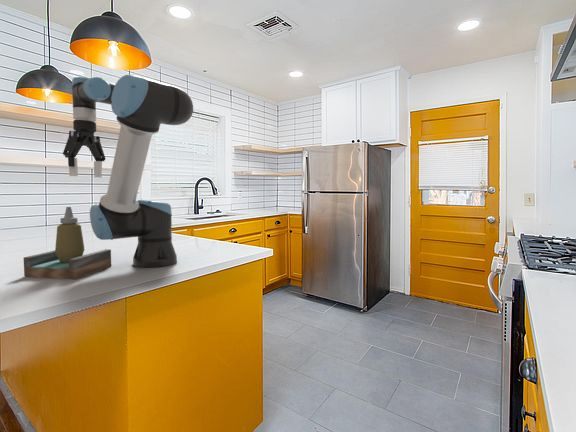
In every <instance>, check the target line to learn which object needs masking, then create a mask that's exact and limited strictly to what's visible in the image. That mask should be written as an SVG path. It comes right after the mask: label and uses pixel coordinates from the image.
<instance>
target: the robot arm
mask: <svg viewBox="0 0 576 432" xmlns="http://www.w3.org/2000/svg"><path fill="white" fill-rule="evenodd" d="M71 97H72V117H73V119H74V120H73V121H72V123H73V125H72V126H73V130H69V131H68V138H67V141H66V144H65V146H64V149H63V151H62V155H63V156H64V157H65V158H66V159H67V165H68V174H69V177H78V175H79V174H78V173H79V170H78V158H77V155H79V152H80V150H81V148H82V147H83V146H85V147H87V148H88V149H89V151H90V154H91V155H92V156H93V159H94V161H93V174H94V175H93V177H94V178H102V177H103V175H102V174H103V173H102V171H103V170H102V169H103V168H102V167H103V162H105V161H106V156H105V153H104V150H103V147H102V143H101V137H100V136H98V135H96V136H95V133H97V123H96V122H97V108H96V103H101V104H105V105H106V104H107V105H111V110H112V112H113V114H114V115H115V116H116V121H117V122H118V124H119V125H120V129H119V133H118V138H117V139H118V140H117V143H116V149H115V153H114V158H113V163H112V166H111V173H110V176H109V177H110V178H109V182H108V187H107V190H106V191H107V192H106V194H103V195H102V196H100V198H99V204H97V203H96V204H93V205H92V206H90V209H89V219H90V220H89V221H90V226H91V228H92V229H91V230H92V232H93V234H94V235H95V237H96V238H97V239H98V240H103V241H105V240H111V241H114V240H118V239H119V240H120V239H128V238H137V245H136V249H135V251H134V254H133V258H132V265H133V266H135V267H139V268H159V267H166V266H171V265H174V264H176V263H178V257H177V253H176V250H175V247H174V245H173V241H172V240H173V239H172V238H173V236H172V235H173V234H172V232H173V231H172V227H173V226H172V225H173V224H172V217H173V214H172V206H171V204H169V203H168V202H163V201H153V200H145V199H144V200H143V199H138V200H137V196H138V192H139V188H140V184H141V180H142V176H143V172H144V168H145V164H146V160H147V156H148V153H149V149H150V144H151V140H152V136H153V135H155V134H157V133H158V132H159V130H160V127H161V125H168V126H180V125H183V124H185V123H187V122H188V121H190V119H191V117H192V116H193V114H194V103H193V100H192V98H191V97H190V95H189V94H188V93H187V92H186V91H185V90H184V89H181V88H180V87H178V86H175V85H172V84H167V83H164V82H160V81H157V80H153V79H150V78H147V77H144V76H138V75H133V74H125V75H122V76H121V77H120V78H119V79H118V80H116V83H115V84H114V83H110V82H108V81H107V80H106V79H104V78H102V77H98V76H96V77H94V76H93V77H90V78H88V77H84V76H78V77H77V76H76V77H73V78H72V82H71Z"/></svg>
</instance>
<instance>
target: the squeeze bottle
mask: <svg viewBox="0 0 576 432" xmlns="http://www.w3.org/2000/svg"><path fill="white" fill-rule="evenodd" d="M59 220H60V224H58V225H57V227H56V238H55V250H54V251H55V252H56V254H57V257H58V259H59V261H60V262H63V263H69V259H72V258H76V257H79V256H83V255H84V252H85V244H84V243H85V242H84V237H83V229H82V225H80V224H78V221H79V220H78V217H74V213H73V210H72V207H71V206H66V207H65V212H64V217H60V219H59Z"/></svg>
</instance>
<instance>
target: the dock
mask: <svg viewBox="0 0 576 432" xmlns="http://www.w3.org/2000/svg"><path fill="white" fill-rule="evenodd" d="M111 267H112V249H106V248H105V249H102V250H99V251H94V252H92V253H87V254H83V256H79V257H76V258H72V259H69V263H63V262H60V261H59V259H58V257H57V254H56V252H55V250H51V251H46V252H42V253H38V254H33V255H29V256H25V257H23V274H24V275H23V276H25V277H24V278H41V277H42V278H43V279H44V278H46V279H64V280H77V279H80V278H83V277H86V276H88V275H92V274H94V273H97V272H99V271H100V272H101V271H103V270H105V269H107V268H111Z"/></svg>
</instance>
